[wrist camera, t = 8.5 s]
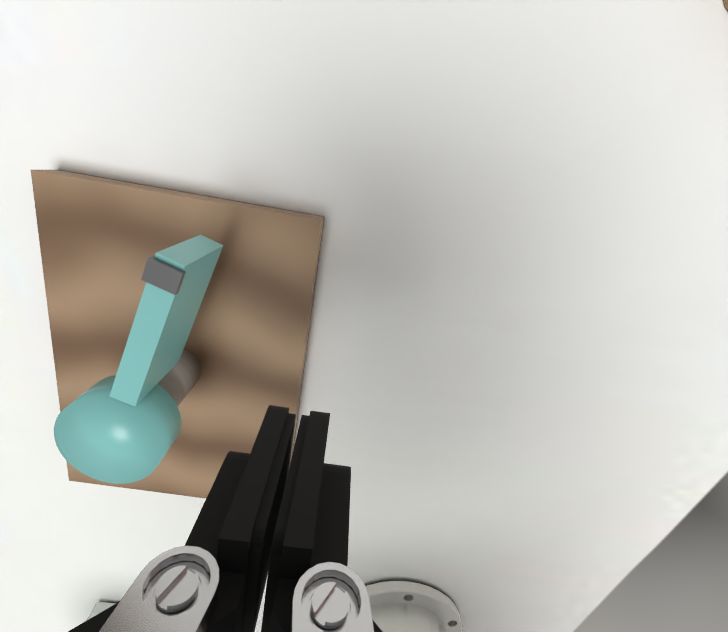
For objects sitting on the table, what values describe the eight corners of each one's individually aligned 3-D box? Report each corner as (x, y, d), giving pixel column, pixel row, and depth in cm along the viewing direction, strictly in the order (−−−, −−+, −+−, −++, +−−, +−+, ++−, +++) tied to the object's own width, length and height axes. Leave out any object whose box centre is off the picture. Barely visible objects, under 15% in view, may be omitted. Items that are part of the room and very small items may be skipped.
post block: (287, 488, 32) (268, 571, 25) (87, 461, 31) (12, 540, 24) (324, 216, 24) (309, 234, 18) (57, 169, 23) (-64, 170, 17)
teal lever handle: (183, 439, 24) (141, 501, 19) (102, 408, 23) (39, 465, 19) (258, 262, 20) (227, 289, 16) (164, 216, 19) (103, 231, 15)
